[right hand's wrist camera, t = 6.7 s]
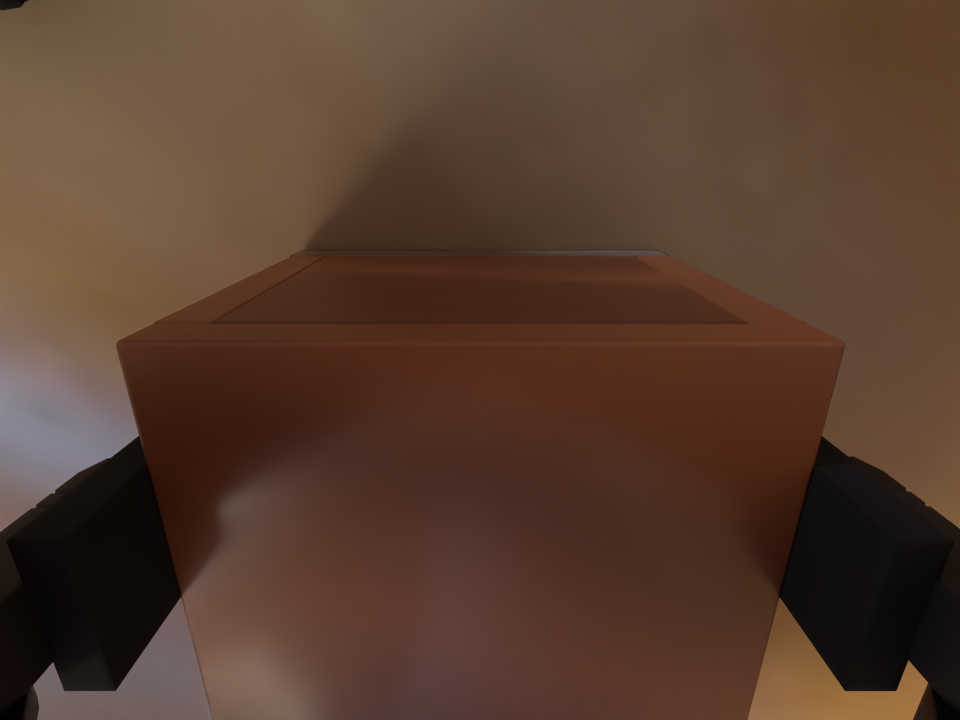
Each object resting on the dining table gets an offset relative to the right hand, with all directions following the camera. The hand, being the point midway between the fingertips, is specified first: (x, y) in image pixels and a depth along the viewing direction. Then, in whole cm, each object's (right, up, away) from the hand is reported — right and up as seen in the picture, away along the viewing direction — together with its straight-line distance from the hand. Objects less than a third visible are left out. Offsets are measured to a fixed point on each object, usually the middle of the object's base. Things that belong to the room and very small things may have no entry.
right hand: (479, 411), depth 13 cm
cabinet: (0, -5, +6) cm, 8 cm away
